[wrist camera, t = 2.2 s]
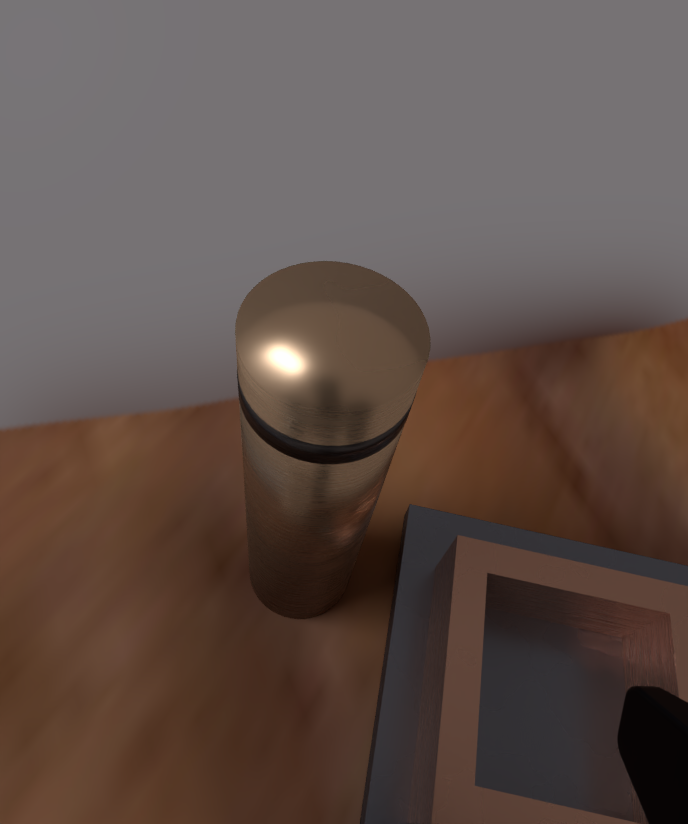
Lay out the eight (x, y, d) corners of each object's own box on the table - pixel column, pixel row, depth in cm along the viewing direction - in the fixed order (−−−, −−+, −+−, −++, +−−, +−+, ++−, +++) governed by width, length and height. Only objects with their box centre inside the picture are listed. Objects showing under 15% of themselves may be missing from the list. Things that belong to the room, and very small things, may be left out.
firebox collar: (739, 998, 17) (856, 1042, 14) (347, 906, 17) (367, 928, 14) (685, 577, 24) (755, 538, 20) (404, 515, 24) (427, 466, 20)
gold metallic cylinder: (315, 639, 21) (371, 448, 10) (228, 582, 22) (192, 346, 11) (368, 553, 23) (462, 314, 12) (285, 503, 23) (304, 235, 13)
